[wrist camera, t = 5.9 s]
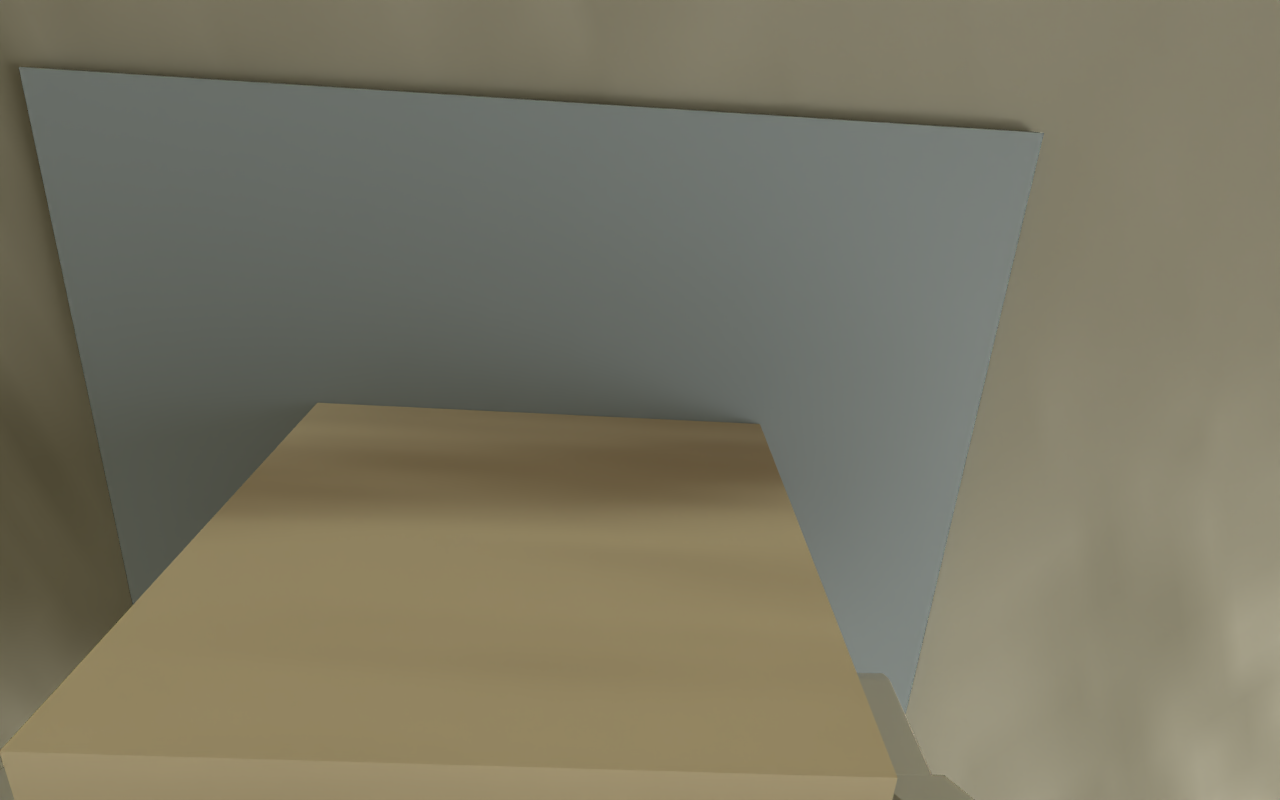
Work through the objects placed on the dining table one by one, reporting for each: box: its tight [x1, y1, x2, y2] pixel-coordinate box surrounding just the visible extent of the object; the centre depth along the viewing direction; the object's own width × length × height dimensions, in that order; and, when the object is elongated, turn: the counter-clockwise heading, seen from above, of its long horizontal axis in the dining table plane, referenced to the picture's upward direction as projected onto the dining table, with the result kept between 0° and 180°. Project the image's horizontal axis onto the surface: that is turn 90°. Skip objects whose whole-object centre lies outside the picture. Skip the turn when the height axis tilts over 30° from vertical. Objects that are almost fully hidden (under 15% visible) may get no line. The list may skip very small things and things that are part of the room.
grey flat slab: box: [19, 67, 1044, 714], centre depth 12 cm, size 14×12×1 cm
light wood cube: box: [0, 403, 898, 800], centre depth 9 cm, size 6×6×6 cm
